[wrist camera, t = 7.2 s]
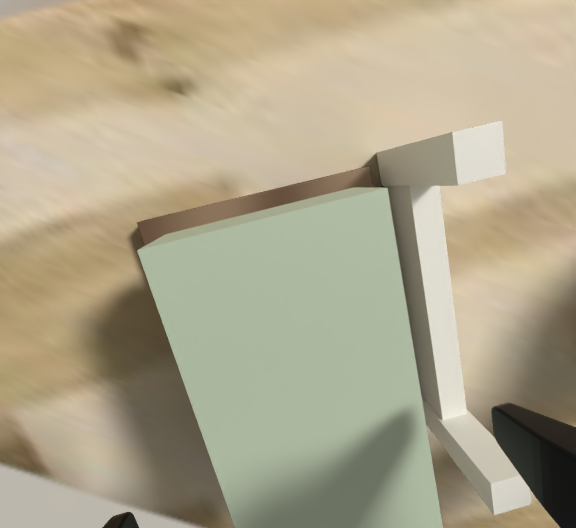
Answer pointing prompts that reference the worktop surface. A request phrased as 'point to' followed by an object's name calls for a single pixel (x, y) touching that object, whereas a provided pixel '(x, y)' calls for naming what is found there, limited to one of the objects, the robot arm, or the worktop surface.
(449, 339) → the u-shaped frame
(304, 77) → the worktop surface
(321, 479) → the board
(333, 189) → the peg stand
